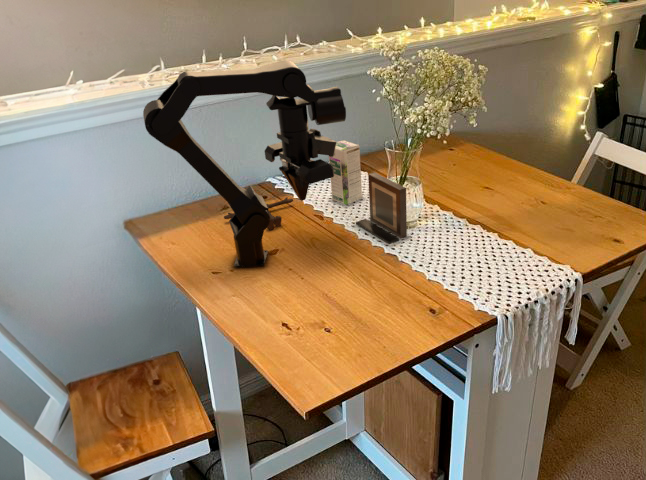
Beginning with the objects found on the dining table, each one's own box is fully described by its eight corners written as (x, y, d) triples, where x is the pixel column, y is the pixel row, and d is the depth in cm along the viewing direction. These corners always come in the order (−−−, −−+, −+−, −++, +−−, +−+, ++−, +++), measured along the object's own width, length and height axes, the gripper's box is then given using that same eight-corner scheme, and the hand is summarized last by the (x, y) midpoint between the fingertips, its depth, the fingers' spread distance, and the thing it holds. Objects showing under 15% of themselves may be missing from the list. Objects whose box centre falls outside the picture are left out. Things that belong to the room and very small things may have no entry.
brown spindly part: (237, 227, 153) (215, 200, 163) (239, 243, 156) (218, 215, 166) (309, 208, 161) (284, 183, 171) (310, 223, 164) (285, 198, 173)
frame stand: (389, 246, 150) (388, 242, 150) (355, 225, 159) (355, 222, 159) (399, 242, 152) (398, 238, 151) (365, 222, 161) (365, 218, 160)
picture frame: (400, 239, 153) (399, 190, 146) (369, 221, 161) (367, 174, 154) (406, 237, 154) (406, 187, 147) (376, 219, 162) (374, 172, 155)
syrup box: (331, 200, 172) (326, 145, 164) (348, 193, 176) (344, 138, 168) (346, 206, 169) (342, 150, 161) (363, 198, 172) (360, 143, 165)
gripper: (353, 130, 133) (358, 203, 141) (305, 109, 146) (312, 177, 154) (304, 143, 127) (312, 218, 136) (258, 120, 140) (268, 190, 149)
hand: (302, 199), depth 144 cm, fingers closed
